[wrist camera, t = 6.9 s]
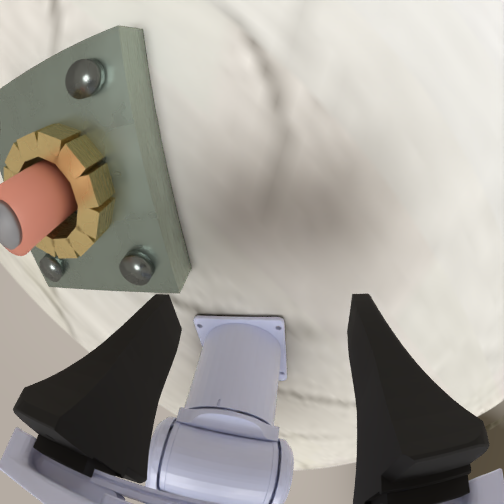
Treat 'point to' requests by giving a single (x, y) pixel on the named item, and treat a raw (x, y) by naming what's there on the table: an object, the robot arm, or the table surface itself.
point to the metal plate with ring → (98, 165)
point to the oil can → (33, 206)
